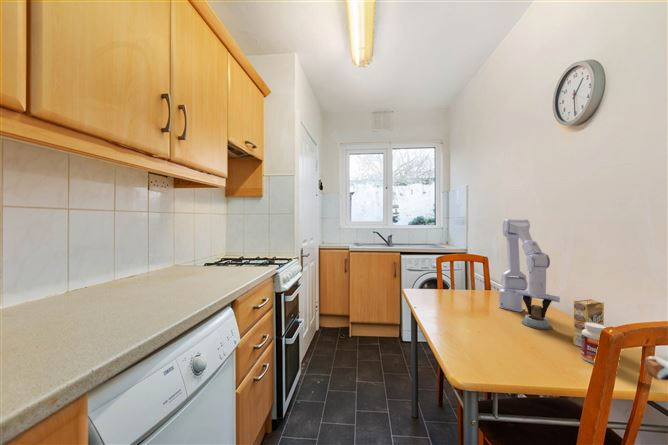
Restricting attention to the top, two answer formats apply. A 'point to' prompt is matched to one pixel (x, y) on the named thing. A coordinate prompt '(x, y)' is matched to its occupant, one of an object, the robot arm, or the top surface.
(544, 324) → the collar socket
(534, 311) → the walnut peg
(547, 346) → the top surface
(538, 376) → the top surface
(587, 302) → the candy box
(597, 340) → the pill bottle
